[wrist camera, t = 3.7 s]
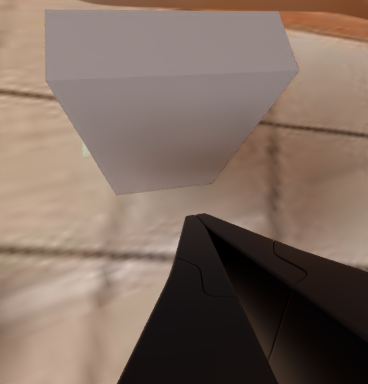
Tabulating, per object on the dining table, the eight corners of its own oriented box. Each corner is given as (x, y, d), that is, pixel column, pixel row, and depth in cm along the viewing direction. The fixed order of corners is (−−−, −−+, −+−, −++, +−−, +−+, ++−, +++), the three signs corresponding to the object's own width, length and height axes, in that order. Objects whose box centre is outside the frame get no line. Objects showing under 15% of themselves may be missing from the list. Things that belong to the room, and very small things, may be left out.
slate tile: (211, 183, 22) (299, 70, 9) (116, 195, 21) (45, 80, 7) (204, 151, 23) (275, 4, 10) (113, 161, 21) (44, 1, 8)
